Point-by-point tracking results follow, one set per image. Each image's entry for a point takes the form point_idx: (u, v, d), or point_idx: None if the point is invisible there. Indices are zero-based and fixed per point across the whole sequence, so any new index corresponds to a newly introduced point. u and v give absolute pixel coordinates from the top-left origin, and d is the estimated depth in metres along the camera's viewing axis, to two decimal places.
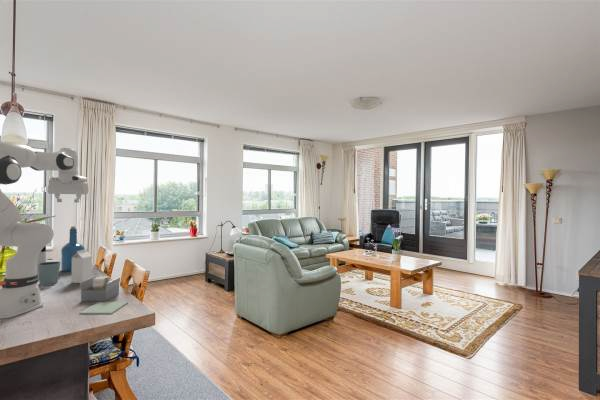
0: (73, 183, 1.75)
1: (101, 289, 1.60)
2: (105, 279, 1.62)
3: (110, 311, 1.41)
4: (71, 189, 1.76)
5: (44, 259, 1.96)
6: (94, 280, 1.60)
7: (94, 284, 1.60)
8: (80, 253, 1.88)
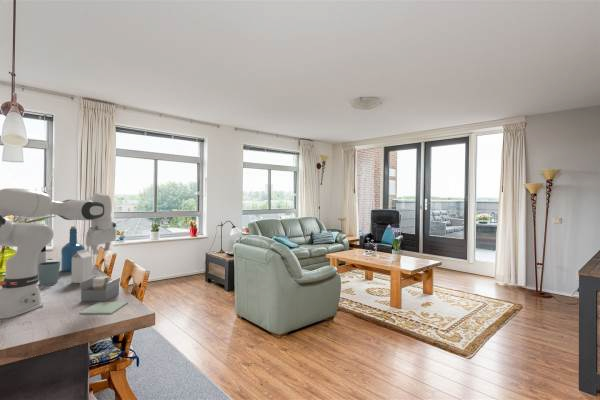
0: (110, 230, 1.66)
1: (101, 289, 1.60)
2: (105, 279, 1.62)
3: (110, 311, 1.41)
4: (108, 237, 1.65)
5: (44, 259, 1.96)
6: (94, 280, 1.60)
7: (94, 284, 1.60)
8: (80, 253, 1.88)
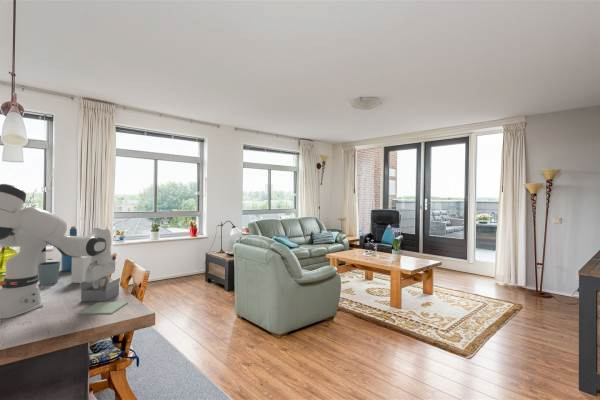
0: (110, 264, 1.67)
1: (101, 289, 1.60)
2: (105, 279, 1.62)
3: (110, 311, 1.41)
4: (107, 270, 1.65)
5: (44, 259, 1.96)
6: None
7: None
8: None
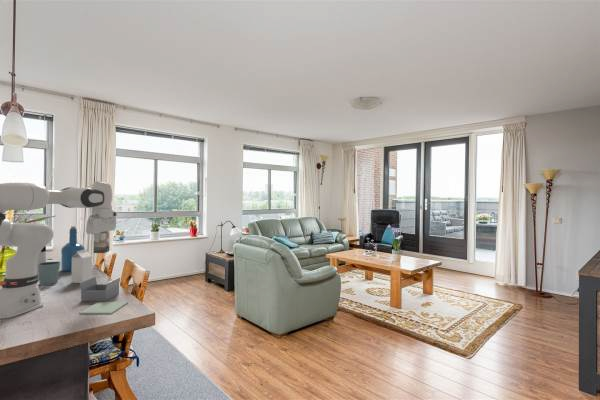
0: (110, 219, 1.65)
1: (102, 243, 1.59)
2: (106, 234, 1.61)
3: (110, 311, 1.41)
4: (108, 226, 1.64)
5: (44, 259, 1.96)
6: None
7: None
8: (80, 253, 1.88)
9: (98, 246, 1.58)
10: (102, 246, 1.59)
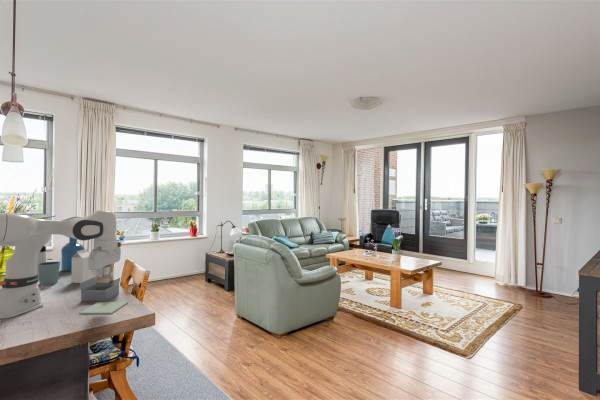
0: (114, 251, 1.51)
1: (105, 278, 1.44)
2: (110, 267, 1.46)
3: (110, 311, 1.41)
4: (112, 258, 1.50)
5: (44, 259, 1.96)
6: None
7: None
8: (80, 253, 1.88)
9: (101, 281, 1.44)
10: (105, 281, 1.44)
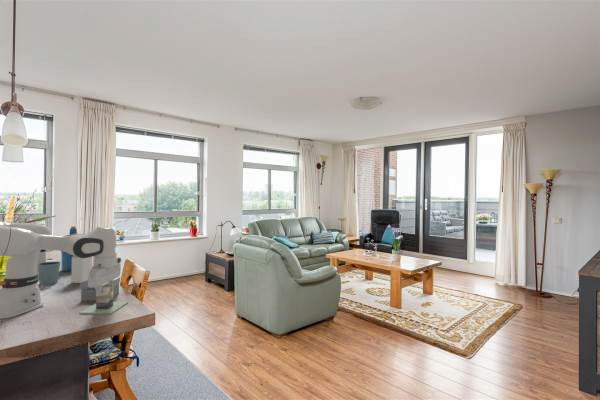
0: (114, 267, 1.51)
1: (105, 298, 1.44)
2: (110, 287, 1.46)
3: (110, 311, 1.41)
4: (112, 274, 1.50)
5: (44, 259, 1.96)
6: None
7: None
8: None
9: (101, 301, 1.44)
10: (105, 301, 1.44)
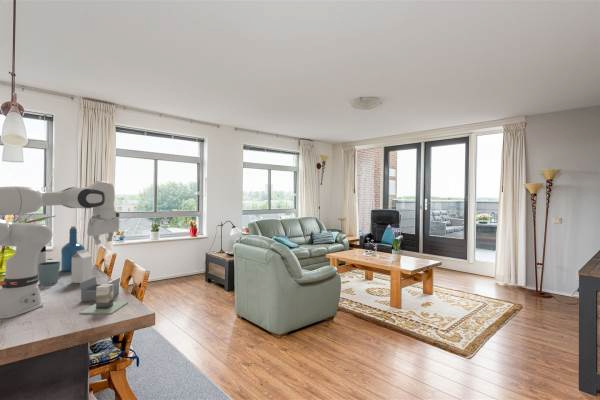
0: (113, 220, 1.59)
1: (105, 298, 1.44)
2: (110, 287, 1.46)
3: (110, 311, 1.41)
4: (111, 227, 1.58)
5: (44, 259, 1.96)
6: (97, 288, 1.44)
7: (97, 293, 1.44)
8: (80, 253, 1.88)
9: (101, 301, 1.44)
10: (105, 301, 1.44)
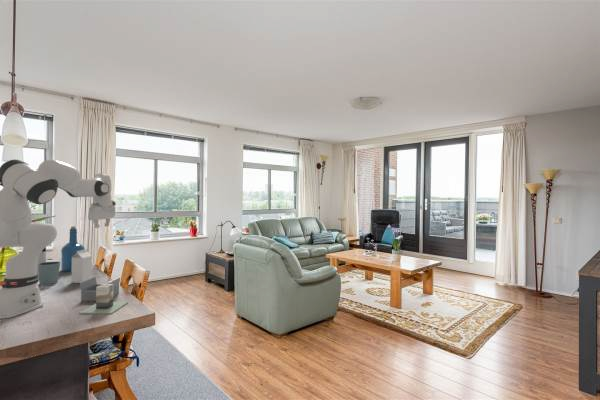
0: (110, 208, 1.84)
1: (105, 298, 1.44)
2: (110, 287, 1.46)
3: (110, 311, 1.41)
4: (108, 214, 1.82)
5: (44, 259, 1.96)
6: (97, 288, 1.44)
7: (97, 293, 1.44)
8: (80, 253, 1.88)
9: (101, 301, 1.44)
10: (105, 301, 1.44)
